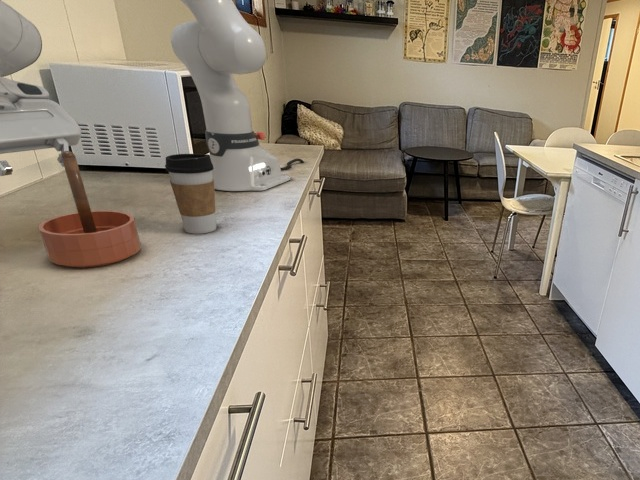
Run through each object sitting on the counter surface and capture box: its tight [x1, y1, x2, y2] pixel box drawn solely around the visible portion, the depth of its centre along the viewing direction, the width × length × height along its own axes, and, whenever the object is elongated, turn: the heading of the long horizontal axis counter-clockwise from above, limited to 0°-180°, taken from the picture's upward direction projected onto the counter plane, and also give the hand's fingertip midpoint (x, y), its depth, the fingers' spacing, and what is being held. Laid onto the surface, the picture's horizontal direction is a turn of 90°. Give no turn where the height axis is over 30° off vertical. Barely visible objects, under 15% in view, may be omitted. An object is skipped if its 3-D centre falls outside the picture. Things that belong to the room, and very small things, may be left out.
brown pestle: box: [60, 150, 97, 233], centre depth 79 cm, size 5×5×17 cm
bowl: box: [37, 210, 142, 268], centre depth 82 cm, size 13×13×6 cm
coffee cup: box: [164, 153, 217, 235], centre depth 94 cm, size 8×8×15 cm
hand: (39, 168), depth 81 cm, fingers open, 8 cm apart
